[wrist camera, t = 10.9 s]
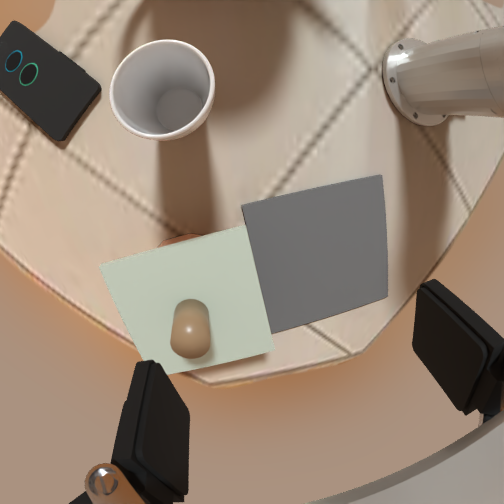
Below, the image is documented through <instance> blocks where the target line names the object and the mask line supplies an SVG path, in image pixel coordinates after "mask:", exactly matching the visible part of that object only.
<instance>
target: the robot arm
mask: <svg viewBox="0 0 504 504" xmlns="http://www.w3.org/2000/svg"><path fill="white" fill-rule="evenodd" d="M383 78H384V84H385V87H386V90H387V93H388V95H389V97H390V99H391V101H392V102H393V104H394V105H395V107H396V108H397V109H398V110H399V112H400V113H401V114H402V115H403V116H405V117H406V118H407V119H408V120H410V121H412V122H413V123H415V124H418V125H422V126H435V125H438V124H440V123H442V122H443V121H444V120H445V119H446V118H447V117H448V116H449V115H469V116H488V117H501V118H504V26H500V27H494V28H489V29H485V30H480V31H475V32H470V33H466V34H462V35H458V36H453V37H450V38H446V39H442V40H438V41H435V42H431V43H428V44H427V43H425V42H423V41H421V40H418V39H413V38H406V39H402V40H399V41H397V42H395V43H394V44H392V45H391V46H390V47H389V49H388V50H387V52H386V54H385V57H384V60H383ZM412 346H413V350H414V352H415V353H416V354H417V356H418V357H419V358H420V360H421V361H422V362H423V363H424V365H425V366H426V367H427V369H428V370H429V372H430V373H431V374H432V375H433V377H434V378H435V380H436V381H437V382H438V384H439V385H440V386H441V388H442V389H443V390H444V392H445V393H446V394H447V396H448V397H449V399H450V400H451V401H452V403H453V404H454V406H455V407H456V408H457V410H459V411H463V413H464V414H465V415H468V414H469V413H471V412H472V411H474V410H476V409H478V411H479V412H480V418H479V425H478V428H476V429H475V430H473V431H472V432H470V433H468V434H467V435H465V436H464V437H462V438H460V439H459V440H457V441H455V442H454V443H453V444H450V445H449V446H447V447H445V448H443V449H442V450H440V451H438V452H436V453H434V454H432V455H431V456H429V457H427V458H425V459H423V460H421V461H419V462H417V463H415V464H413V465H411V466H409V467H406V468H404V469H402V470H400V471H398V472H395V473H393V474H391V475H389V476H386V477H384V478H381V479H379V480H376V481H374V482H371V483H369V484H366V485H363V486H361V487H358V488H355V489H352V490H349V491H346V492H343V493H340V494H337V495H334V496H330V497H327V498H324V499H320V500H316V501H312V502H309V503H304V504H504V338H502V337H501V336H500V335H499V334H498V333H497V332H496V331H495V330H494V329H493V328H492V327H491V326H490V325H488V324H487V323H486V322H485V321H484V320H483V319H482V318H481V317H480V316H479V315H478V314H476V313H475V312H474V311H473V310H472V309H471V308H470V307H468V306H467V305H466V304H465V303H463V301H461V300H460V299H459V298H458V297H457V296H456V295H454V294H453V293H452V292H451V291H450V290H448V289H447V288H446V287H445V286H444V285H442V284H441V283H440V282H439V281H437V280H436V279H432V280H430V281H427V282H425V283H422V284H421V285H420V289H418V290H417V298H416V311H415V322H414V332H413V341H412ZM189 427H190V414H189V411H188V408H187V406H186V405H185V403H184V402H183V400H182V399H181V397H180V395H179V394H178V392H177V391H176V389H175V387H174V386H173V384H172V383H171V381H170V379H169V378H168V376H167V374H166V372H165V371H164V369H163V367H162V366H161V364H160V363H156V362H155V361H154V360H146V361H141V362H137V363H136V366H135V370H134V374H133V377H132V381H131V385H130V389H129V393H128V397H127V400H126V401H125V403H124V406H123V409H122V413H121V417H120V422H119V426H118V431H117V436H116V440H115V444H114V449H113V454H112V459H111V464H109V463H103V464H98V465H96V466H94V467H93V468H92V469H91V470H90V471H89V472H88V474H87V475H86V479H85V489H86V491H85V492H84V493H83V494H81V495H80V496H78V497H77V498H76V499H74V500H73V501H72V502H70V503H69V504H173V502H184V495H187V494H188V475H189V474H188V470H189V429H190V428H189Z"/></svg>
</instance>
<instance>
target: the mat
mask: <svg viewBox="0 0 504 504" xmlns="http://www.w3.org/2000/svg"><path fill="white" fill-rule="evenodd" d="M242 210H243V214H244V218H245V222H246V227H247V231H248V235H249V240H250V244H251V248H252V252H253V257H254V261H255V265H256V269H257V274H258V278H259V282H260V286H261V291H262V295H263V299H264V304H265V308H266V312H267V316H268V321H269V325H270V329H271V333H276V332H279V331H283V330H286V329H290V328H293V327H297V326H300V325H304V324H307V323H310V322H314V321H317V320H320V319H323V318H326V317H330V316H333V315H336V314H339V313H342V312H345V311H348V310H351V309H354V308H357V307H360V306H363V305H366V304H369V303H372V302H374V301H377V300H380V299H383V298H386V297H388V253H387V229H386V213H385V200H384V189H383V179H382V175H376V176H371V177H366V178H361V179H356V180H351V181H346V182H341V183H336V184H331V185H327V186H322V187H317V188H313V189H308V190H304V191H299V192H295V193H290V194H286V195H282V196H277V197H273V198H269V199H265V200H261V201H256V202H252V203H248V204H244V205H242Z"/></svg>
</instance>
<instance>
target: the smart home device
mask: <svg viewBox="0 0 504 504" xmlns="http://www.w3.org/2000/svg"><path fill="white" fill-rule="evenodd" d="M0 90H1V91H2V92H3V93H4V94H5V95H7V96H8V97H9V98H10V99H11V100H12V101H13V102H14V103H15V104H16V105H17V106H18V107H19V108H20V109H21V110H22V111H23V112H25V113H26V114H27V115H28V116H29V117H30V118H31V119H32V120H33V121H34V122H35V123H36V124H38V125H39V126H40V127H41V128H42V129H43V130H44V131H45V132H46V133H47V134H49V135H50V136H51V137H52V138H53V139H55V140H57V141H64V140H65V139H66V137H67V136H68V134H69V133H70V131H71V130H72V128H73V127H74V126H75V124H76V123H77V121H78V120H79V119H80V117H81V116H82V114H83V113H84V112H85V110H86V109H87V108H88V106H89V105H90V104H91V102H92V101H93V100H94V99H95V97H96V96H97V95H98V94H99V92H100V91H101V86H100V84H99V83H98V82H97V81H96V80H94V79H93V78H92V77H91V76H89V75H88V74H87V73H86V72H85V70H84V69H82V68H81V67H80V66H79V65H77V64H76V63H75V62H73V61H72V60H71V59H69V58H68V57H67V56H66V55H64V54H63V53H62V52H60V51H59V52H58V51H57V50H56V49H55V48H53V47H52V46H51V45H49V44H48V43H47V42H45V41H44V40H43V39H41V38H40V37H39V36H37V35H36V34H35V33H34V32H32V31H31V30H29V29H28V28H27V27H25V26H24V25H23V24H21V23H19V22H17V21H12V22H11V23H10V24H9V26H8V27H7V28H6V30H5V31H4V32H3V34H2V35H1V37H0Z"/></svg>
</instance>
